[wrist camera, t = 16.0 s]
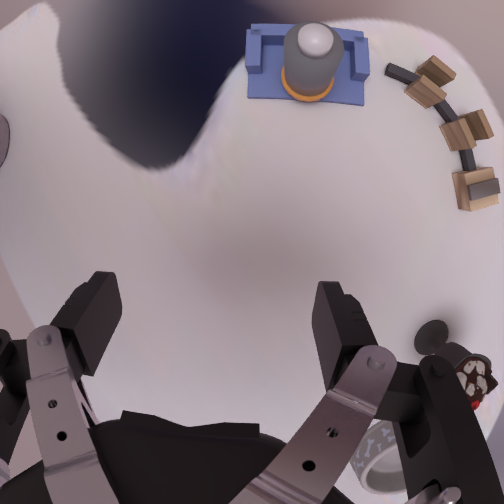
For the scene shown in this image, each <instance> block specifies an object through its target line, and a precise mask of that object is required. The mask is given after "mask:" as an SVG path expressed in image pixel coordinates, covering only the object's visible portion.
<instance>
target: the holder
mask: <svg viewBox="0 0 504 504" xmlns="http://www.w3.org/2000/svg"><path fill="white" fill-rule="evenodd" d="M293 26H295V25H291V24H251V30H247V38H246V57H245V67H246V69H247V72H248V96H247V97H248V98H257V99H289V100H297V99H295V98H293V97H292V96H291V95H289V94H288V93H287V91H286V90H285V88H284V86H283V84H282V79H281V72H282V68H283V66H284V38H285V35H286V34H287V32H288V31H289V30H290V29H291V28H292V27H293ZM331 28H332V27H331ZM332 29H334V30H335V31H336V32H337V33H338V34H339V36H340V37H341V39H342V41H343V44H344V55H343V57H342V60H341V62H340V64H339V66H338V68H337V70H336V72H335V74H334V83H333V86H332V88H331V90H330V92H329V93H328V94H327V95H326V96H325V97H324V98H322V99H320V100H318V101H320V102H331V103H341V104H349V105H358V106H364V81H365V80H366V79H367V77H368V76H369V75H370V66H369V49H368V38H364V34H363V32H362V31H355V30H348V29H340V28H332Z"/></svg>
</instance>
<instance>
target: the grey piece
mask: <svg viewBox="0 0 504 504" xmlns="http://www.w3.org/2000/svg"><path fill="white" fill-rule="evenodd" d="M343 55H344V44H343V41H342V39H341V37H340V36H339V34H338V33H337V32H336V31H335V30H334V29H332V28H331V27H329V26H328V25H325V24H323V23H320V22H312V21H310V22H302V23H299V24H297V25H295V26H293V27H292V28H291V29H290V30H289V31H288V32H287V34H286V35H285V38H284V66H283V68H282V72H281V79H282V84H283V86H284V88H285V90H286V91H287V93H288V94H289V95H291V96H292V97H293V98H295V99H297V100H300V101H304V102H314V101H318V100H320V99H322V98H324V97H325V96H326V95H327V94H328V93H329V92H330V90H331V88H332V86H333V83H334V74H335V72H336V70H337V68H338V66H339V64H340V62H341V60H342V57H343Z"/></svg>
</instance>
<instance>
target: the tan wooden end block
mask: <svg viewBox="0 0 504 504" xmlns="http://www.w3.org/2000/svg"><path fill="white" fill-rule="evenodd" d="M476 169H477V170H472V171H461V172H457V173H453V174H452V176H453V181H454V186H455V191H456V197H457V202H458V208H459V209H462V210H466V211H470V212H471V211H475V210H478V209H481V208H485V207H488V206H491V205H494V204H498V203H499V200H498V193H500V187H499V181H498V178H495V175H494V170H493V167H478V168H476Z"/></svg>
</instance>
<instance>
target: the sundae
mask: <svg viewBox="0 0 504 504" xmlns="http://www.w3.org/2000/svg"><path fill="white" fill-rule="evenodd" d="M447 338H448V327H447V325H446V324H445V323H444V322H442V321H439V320H434V321H431V322H428V323H427V324H425V325H424V326H423V327H422V328H421V329H420V330H419V331H418V333H417V335H416V338H415V349H416V350H417V352H418V353H420V354H422V355H431V354H434V353H435V355H437V356H440V357H443V358H445V359H446V360H448V361H449V362H450V363H451V364H452V366H453V367H454V369H455V371H456V374H457V376H458V378H459V380H460V382H461V384H462V386H463V388H464V391H465V393H466V395H467V397H468V399H469V402H470V404H471V406H472V409H473V411H474V410H476V409H477V408H478V407H479V404H480V402H482V401H483V399H484V397H485V394H487V395H488V394H489V393H490V392H491V391H492V390H493V389H494V388H495V387H496V386H497V385H498V382H497V381H496V380H495V378H494V377H493V376H492V375H491V373H492V370H491V361H490V360H489V359H488V358H487V357H486V356H484V355H480V354H472V353H470V352H469V351H468V350H467V349H465V348H464V347H462V346H461V345H459V344H457V343H454V342H449V343H446V344H445V342H446V340H447Z"/></svg>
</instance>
